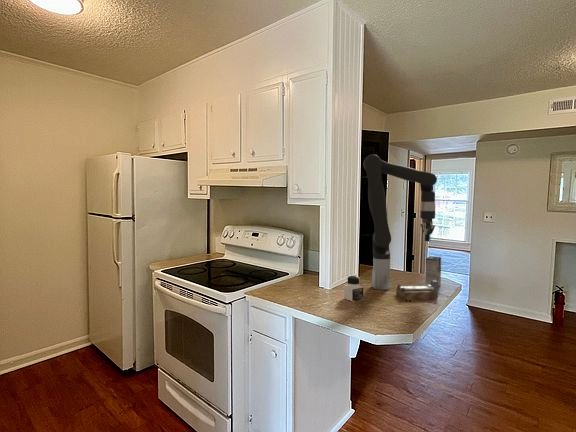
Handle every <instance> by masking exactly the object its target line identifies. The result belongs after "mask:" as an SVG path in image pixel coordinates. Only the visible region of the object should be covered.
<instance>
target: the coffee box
mask: <svg viewBox="0 0 576 432" xmlns="http://www.w3.org/2000/svg"><path fill="white" fill-rule="evenodd" d="M441 273H442V257H441V256H432V255H430V256H428V257H427V258H425V286H427V285H431V280H436V281H438V287H440V285H441V282H442V281H441V280H442V276H441V275H442V274H441Z"/></svg>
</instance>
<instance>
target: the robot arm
mask: <svg viewBox="0 0 576 432" xmlns="http://www.w3.org/2000/svg"><path fill="white" fill-rule="evenodd" d="M362 163H363V168H364V170H365V172H366V177H367V183H368V184H367V187H368V188H367V198H368V206H369V211H370V214H371V217H372V219H373V220H372V221H373V225H374V233H372V257H373V259H372V262H373V265H372V270H371V271H372V272H371V273H372V274H371V286H372V287H373V289H374V290H382V291H385V290H390V289H391V252H390V244H391V243H392V236H391V235H392V234H391V232H390V228H389V223H388V208H387V199H386V193H385V187H384V183H383V179H382V174H384V175H389V176H392V177H396V178H398V179H401V180H404V181H408V182H412V183H418V184H419V186H420V194H421V195H420V215H419V218H420V219H421V220H422V222H421V223H420V227H421V230H422V233H423V234H424V241H425V242H430V241H431V235H432V234H433V232H434V230H435V227H436V226H435V225H433V224H434V221H433V219H436V191H434V185H436V183H437V182H438V178H437V176H436V174H435V173H433V172H428V171H424V170H418V169H416V168H412V167H409V166H406V165H400V164H394V163H391V162H387V161H384V160H382V159H381V158H380V156H378V155H377V154H370V155H368V156H366V157H365V158H364V160H363V162H362Z"/></svg>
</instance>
